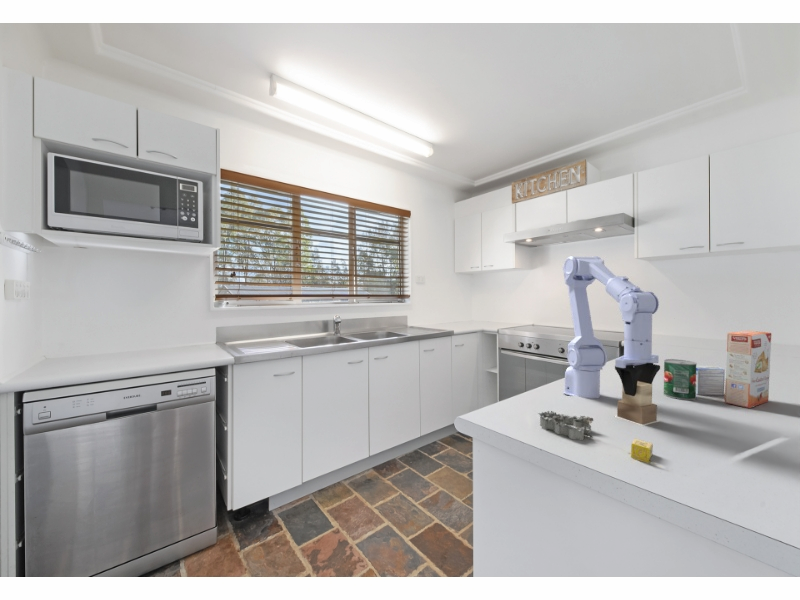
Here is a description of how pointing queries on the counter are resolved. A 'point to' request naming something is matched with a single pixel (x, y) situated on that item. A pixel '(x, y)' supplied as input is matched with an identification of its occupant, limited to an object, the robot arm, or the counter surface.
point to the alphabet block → (641, 450)
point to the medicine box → (710, 380)
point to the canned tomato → (680, 379)
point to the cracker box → (747, 368)
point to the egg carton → (559, 421)
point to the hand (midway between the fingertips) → (637, 393)
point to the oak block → (639, 395)
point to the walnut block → (637, 412)
